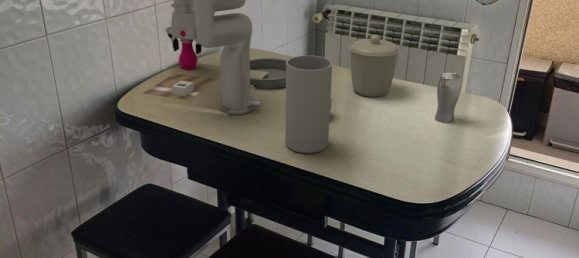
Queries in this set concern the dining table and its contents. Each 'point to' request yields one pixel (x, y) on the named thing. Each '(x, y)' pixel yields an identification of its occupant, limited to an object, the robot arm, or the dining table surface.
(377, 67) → the canister
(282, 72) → the cake pan
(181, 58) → the pepper mill
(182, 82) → the block
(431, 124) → the dining table surface
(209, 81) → the brown flat board
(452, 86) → the beer glass
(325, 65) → the cylinder vase
